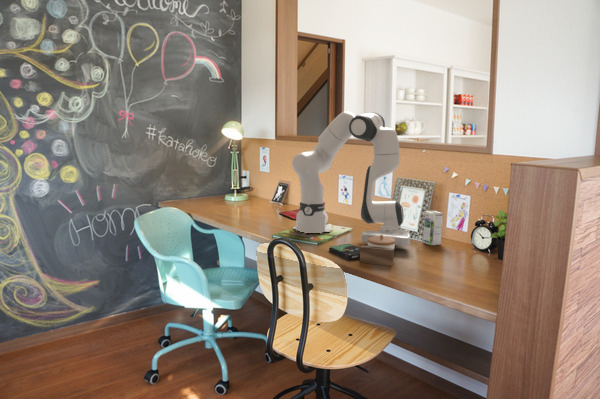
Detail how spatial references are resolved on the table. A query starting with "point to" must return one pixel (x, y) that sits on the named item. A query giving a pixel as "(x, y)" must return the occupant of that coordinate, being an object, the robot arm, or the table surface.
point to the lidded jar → (381, 241)
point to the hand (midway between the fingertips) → (382, 242)
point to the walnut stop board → (376, 255)
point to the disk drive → (346, 251)
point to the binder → (290, 214)
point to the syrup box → (433, 227)
